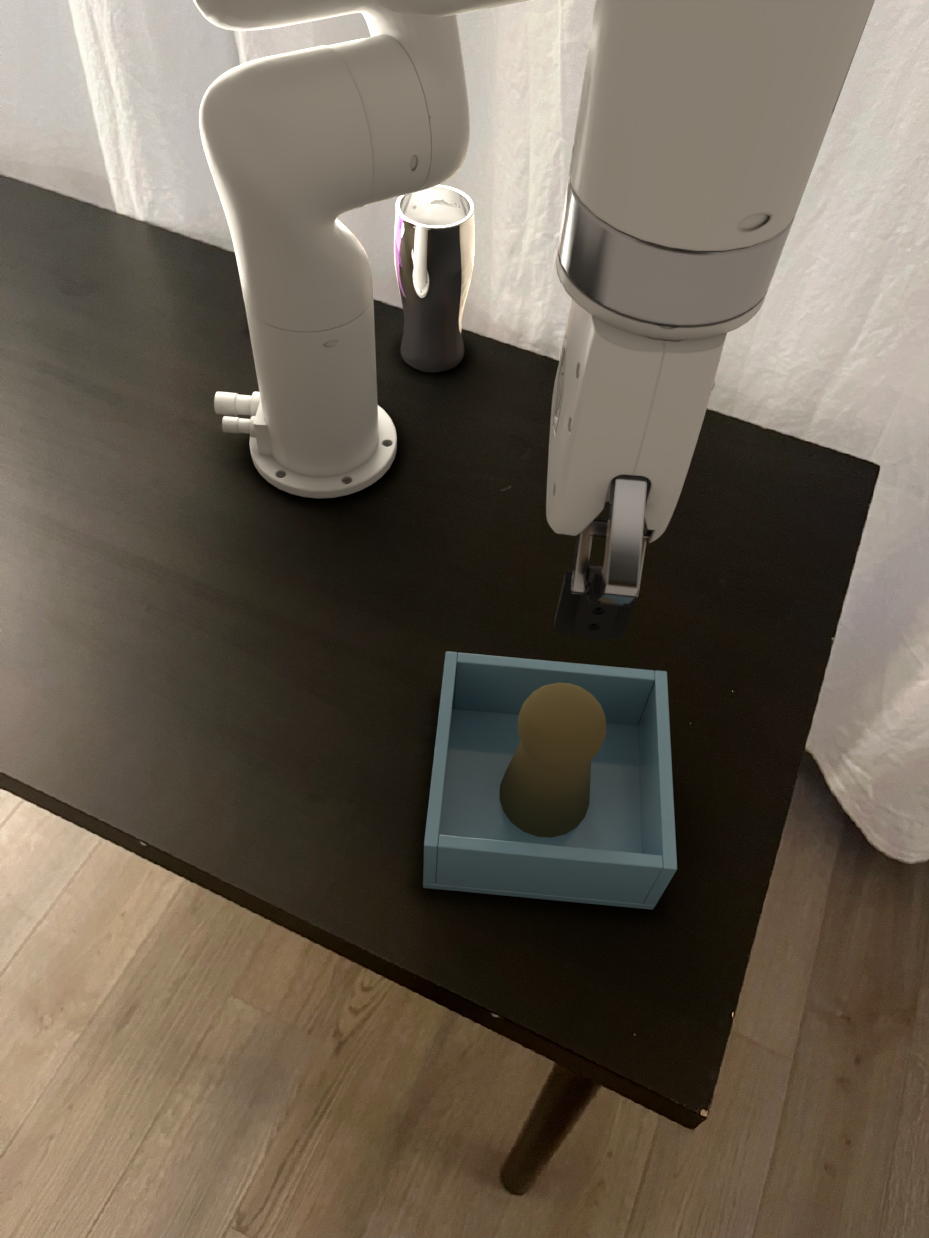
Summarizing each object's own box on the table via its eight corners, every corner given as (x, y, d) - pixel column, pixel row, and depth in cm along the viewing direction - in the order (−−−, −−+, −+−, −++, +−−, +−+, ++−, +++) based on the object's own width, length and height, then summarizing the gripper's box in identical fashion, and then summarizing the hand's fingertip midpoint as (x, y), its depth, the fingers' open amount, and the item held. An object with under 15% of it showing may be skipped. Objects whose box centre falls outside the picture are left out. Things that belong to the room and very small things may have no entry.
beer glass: (443, 386, 88) (447, 239, 76) (381, 358, 90) (376, 210, 78) (482, 347, 92) (492, 200, 80) (422, 321, 94) (423, 174, 82)
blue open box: (422, 888, 60) (423, 845, 55) (442, 704, 68) (445, 650, 63) (653, 910, 60) (677, 869, 55) (646, 722, 68) (667, 671, 63)
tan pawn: (583, 846, 62) (612, 767, 53) (491, 827, 62) (504, 745, 53) (594, 764, 65) (623, 677, 56) (507, 746, 66) (522, 657, 57)
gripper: (568, 99, 38) (522, 419, 52) (551, 395, 28) (501, 693, 42) (757, 118, 38) (660, 434, 52) (807, 422, 28) (671, 711, 42)
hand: (589, 549), depth 47 cm, fingers open, 9 cm apart
